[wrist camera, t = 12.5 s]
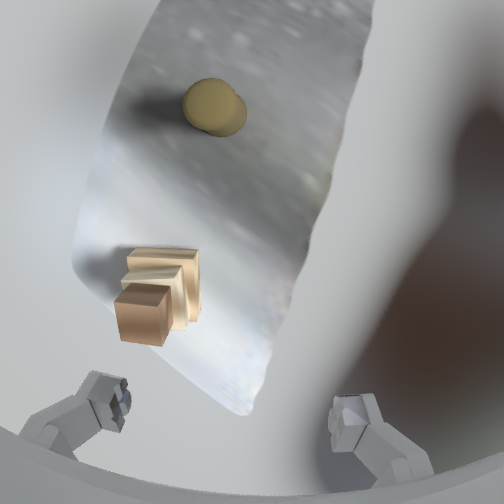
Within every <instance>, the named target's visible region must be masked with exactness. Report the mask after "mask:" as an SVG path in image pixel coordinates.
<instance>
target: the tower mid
mask: <svg viewBox="0 0 504 504" xmlns="http://www.w3.org/2000/svg"><path fill="white" fill-rule="evenodd" d="M120 282H121V286H122V290H123V291H124V290H125V289H126V288H127V286H128V285H129V284H130V283H142V284H154V285H166V286H171V299H172V312H173V325H172V327H171V329H170V331H180V330H185V329H186V326H187V324H188V321H189V319H190V316H191V310H190V305H189V299H188V294H187V288H186V283H185V277H184V271H183V265H179V266H162V267H144V268H132V269H131V270H130V271H129V272H128V273H127V274H126V275H125V276H124V277H123V278H122V279H121V280H120Z"/></svg>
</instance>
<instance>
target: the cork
mask: <svg viewBox="0 0 504 504" xmlns="http://www.w3.org/2000/svg"><path fill="white" fill-rule="evenodd" d="M183 112H184V114H185V117H186V119H187V120H188V121H189V122H190V123H191V125H193V126H195V127H197V128H198V129H202V130H205V131H206V132H208V133H209V134H211V135H213V136H217V137H228V136H230V135H233V134H235V133H236V132H238V131H239V130H240V129H241V128H242V126H243V125H244V124H245V121H246V118H247V108H246V105H245V103H244V101H243V100H242V99H241V97H240V96H239V95H237V94H236V93H235V91H234V89H233V88H232V87H231V86H230V85H229V84H228V83H226V82H225V81H223V80H220V79H215V78H208V79H202V80H200V81H198V82H196V83H194V84H193V85H192V86H191V87H189V89H188V90H187V92H186V93H185V96H184V99H183Z"/></svg>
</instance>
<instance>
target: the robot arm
mask: <svg viewBox="0 0 504 504" xmlns="http://www.w3.org/2000/svg"><path fill="white" fill-rule="evenodd" d="M127 386H128V383H127V379H125V378H123V377H118V376H114V375H110V374H106V373H101V372H97V371H93V370H92V371H91V372H89V374H88V376H87V377H86V379H85V380H84V382H83V383H82V385H81V387H80V388H79V390H78V392H77V393H76V395H75V396H73V395H71V396H69V397H67V398H65V399H64V400H61V401H60V402H58V403H56V404H54V405H52V406H50V407H48V408H46V409H44V410H42V411H40V412H37V413H36V414H33V415H31V416H30V418H29V419H28V421H27V422H26V424H25V425H24V427H23V428H22V430H21V432H20V433H19V435H16V434H14V433H12V432H10V431H8V430H6V429H4V428H3V427H1V426H0V504H504V453H498V454H495V455H493V456H490V457H488V458H485V459H482V460H480V461H477V462H474V463H472V464H469V465H466V466H463V467H460V468H457V469H454V470H451V471H447V472H444V473H441V474H438V475H435V474H434V472H433V469H432V466H431V464H430V461H429V458H428V456H427V453H426V452H425V451H424V450H422V449H421V448H420V447H418V446H417V445H416V444H414V443H413V442H412V441H410V440H409V439H408V438H406V437H405V436H404V435H402V434H401V433H400V432H398V431H397V430H396V429H395V428H393V427H392V426H391V425H389V424H388V423H384V422H383V419H382V416H381V413H380V411H379V408H378V405H377V402H376V399H375V397H374V395H373V394H361V395H360V394H355V395H336V396H335V398H334V400H333V404H334V407H333V408H331V410H330V412H329V417H328V427H329V431H330V432H331V433H332V434H333V435H332V437H331V444H332V449H333V452H349V451H353V453H354V454H355V455H356V456H357V457H358V458H359V459H360V460H361V461H362V462H363V463H364V465H365V466H366V467H367V468H368V469H369V470H370V471H371V472H372V473H373V474H374V475H375V476H376V477H377V478H378V480H377V481H376V482H375V484H374V485H373V486H372V487H371V489H367V490H360V491H352V492H344V493H333V494H321V495H302V496H258V495H238V494H226V493H216V492H207V491H199V490H192V489H184V488H179V487H173V486H168V485H163V484H158V483H153V482H148V481H144V480H139V479H135V478H132V477H127V476H124V475H120V474H116V473H113V472H110V471H106V470H103V469H99V468H97V467H93V466H90V465H88V464H85V463H82V462H79V461H78V459H77V458H76V456H75V455H74V453H73V452H72V451H74V450H75V449H76V448H78V447H79V446H81V445H82V444H83V443H85V442H86V441H87V440H89V439H90V438H91V437H93V436H94V435H95V434H97V433H98V432H99V431H100V430H101V429H105V430H109V431H114V432H118V433H120V432H121V430H122V427H123V425H124V423H125V420H124V417H123V416H125V415H126V414H128V413H129V410H130V407H131V402H132V401H131V394H130V392H129V391H128V390H127V389H126V388H127Z"/></svg>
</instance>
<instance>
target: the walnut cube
mask: <svg viewBox="0 0 504 504" xmlns="http://www.w3.org/2000/svg"><path fill="white" fill-rule="evenodd" d="M114 306H115V312H116V317H117V323H118V328H119V333H120V338H121V341H126V342H132V343H139V344H146V345H153V346H161V347H162V346H163V344H164V342H165V340H166V338H167V335H168V333H169V331H170V329H171V327H172V325H173V312H172V299H171V286H166V285H154V284H142V283H130V284H129V285H128V286H127V288H126V289H125V290H124V291H123V292H122V293H121V294H120V296H119V297H118V298H117V299H116V300H115V301H114Z"/></svg>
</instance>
